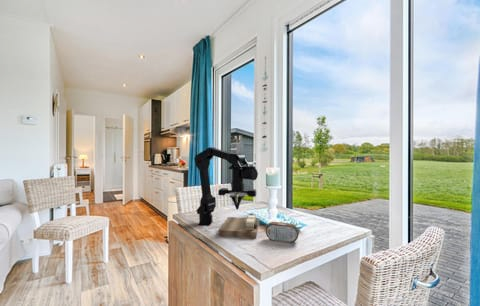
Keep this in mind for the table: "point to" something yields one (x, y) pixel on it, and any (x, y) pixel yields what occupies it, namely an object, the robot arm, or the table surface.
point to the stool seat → (238, 228)
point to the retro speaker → (282, 232)
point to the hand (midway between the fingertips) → (237, 209)
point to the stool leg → (250, 221)
